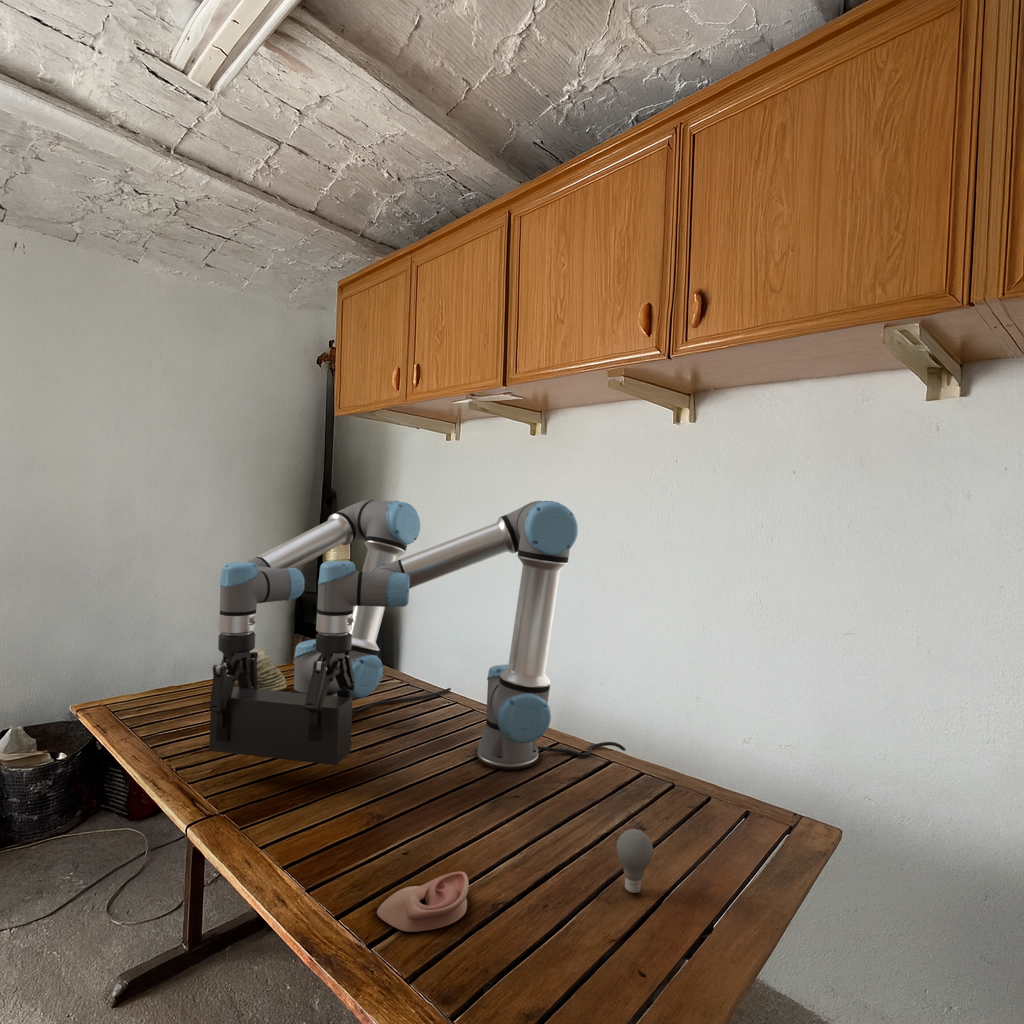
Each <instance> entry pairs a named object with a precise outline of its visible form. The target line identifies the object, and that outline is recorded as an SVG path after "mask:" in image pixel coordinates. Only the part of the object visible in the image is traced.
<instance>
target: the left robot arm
mask: <svg viewBox="0 0 1024 1024" xmlns="http://www.w3.org/2000/svg"><path fill="white" fill-rule="evenodd" d="M420 519H421V518H420V516H419V514H418V511H417V509H416V508H415V507H414V506H413V505H411V504H410V503H408V502H405V501H399V500H375V499H366V500H362V501H359V502H356V503H354V504H351V505H349V506H347V507H345V508H343V509H341V510H338V511H336V512H334V513H332V514H330V515H329V516H328V518H327V520H326V521H324V522H323V523H321V524H319V525H317V526H314V527H313V528H311V529H308V530H307V531H305V532H303V533H301V534H298V535H297V536H295V537H293V538H291V539H289V540H287V541H285V542H283V543H281V544H279V545H277V546H275V547H273V548H272V549H269V550H267V551H266V552H264V553H261V554H260V555H257V556H255V557H254V558H251V559H249V560H247V561H236V562H235V561H233V562H227V563H225V564H223V565H222V567H221V572H220V581H219V614H218V615H219V616H218V617H219V618H218V632H219V634H218V640H217V641H218V643H217V649H218V651H219V652H221V653H222V659H221V662H220V663H219V664H214V665H213V666H212V675H213V677H212V683H211V684H212V685H211V692H210V694H211V695H210V701H209V712H210V713H211V712H216V714H217V717H216V741H221V742H229V741H230V712H231V711H228V708H229V704H230V698H231V696H232V692H233V687H234V683H235V681H236V680H238V685H239V688H252V687H253V688H252V689H258V680H257V657H258V653H257V652H250V651H251V650H253V649H256V633H255V632H254V631H255V630H256V622H257V617H256V616H257V615H256V613H257V607H258V604H264V603H274V602H282V601H286V602H287V601H290V600H295V599H298V598H299V597H300V596H302V594H303V593H304V591H305V582H306V581H305V576H304V574H303V573H302V572H301V570H300V569H299V568H301V567H302V566H304V565H306V564H307V563H309V562H311V561H313V560H315V559H316V558H318V557H321V556H322V555H324V554H326V553H327V552H329V551H331V550H334V549H335V548H337V547H338V546H340V545H341V546H348V545H350V544H351V543H353V542H357V541H364V545H365V547H366V548H367V553H366V556H365V560H364V563H363V567H362V571H361V572H372V571H373V570H374V569H375V568H376V567H378V566H380V565H382V564H389V563H392V562H394V561H397V560H399V558H400V557H402V556H403V555H404V554H406V551H407V548H408V546H409V545H410V544H414V542H415V541H416V540H417V539H418V537H419V535H420V532H421V520H420ZM385 609H386V607H379V606H353V617H352V618H353V619H354V622H353V623H352V630H351V631H350V633H351V634H352V642H351V662H352V668H353V674H354V679H355V683H354V685H355V688H354V690H349V691H350V698H353V699H355V700H356V699H357V700H359V699H365V698H367V697H368V696H369V695H371V694H372V693H373V692H374V691H375V690H376V689H377V688H378V687H379V685H380V683H381V681H382V678H383V675H384V666H383V662H382V660H381V659H380V658H379V654H380V648H379V646H378V644H377V639H378V635H379V631H380V628H381V624H382V620H383V617H384V613H385ZM315 646H316V638H315V639H308V640H304V641H301V642H299V643H298V644H297V645H296V646H295V652H294V656H293V658H294V670H293V671H294V672H293V692H294V693H305V694H307V693H308V689H309V685H310V681H311V677H312V673H313V664H314V661H321V657H322V654H321V653H320V652H318V651H316V649H315ZM227 675H231V676H227ZM349 679H350V678H349ZM338 690H341V689H340V688H339V686H338V683H337V681H336V678H335V677H334V680H333V681H331V682H330V685H329V688H328V691H327V694H326V696H337V691H338ZM449 691H451V687H448V688H445V689H442V690H440V691H436V692H432V693H427V694H422V695H417V696H410V697H403V698H402V697H401V698H396V699H389V700H380V701H374V702H371V703H368V704H366V705H364V706H362V707H359V708H352V713H358V712H362V711H364V710H366V709H368V708H370V707H374V706H378V705H379V706H380V705H385V704H392V703H400V702H406V701H407V702H408V701H415V700H422V699H426V698H431V697H435V696H438V695H443V694H445V693H447V692H449Z"/></svg>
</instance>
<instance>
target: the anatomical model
mask: <svg viewBox="0 0 1024 1024" xmlns="http://www.w3.org/2000/svg"><path fill="white" fill-rule="evenodd" d="M469 884H470V883H469V877H468V875H467V873H466V872H464V871H454V872H449V873H446V874H443V875H440V876H437V877H436V878H434V879H432V880H430V881H428V882H426V883H424V884H421V885H413V886H406V887H403V888H401V889H400V890H399V889H398V890H397V891H395V892H394V893H392V894H391V895H390V896H389V897H388V898H386V899H385V900H384V901H383V902H382V903H381V904H380V905H379V906H378V908H377V910H376V915H377V916H378V917H379V919H381V921H383V922H385V923H386V924H388V925H389V926H391V927H393V928H394V929H396V930H399V931H402V932H405V933H417V932H423V931H431V930H436V929H440V928H443V927H447V926H450V925H452V924H454V923H456V922H457V921H459V920H460V919H462V918H463V917H464V915H465V914H466V912H467V908H468V899H467V896H468V893H469V888H470V887H469V886H470V885H469Z"/></svg>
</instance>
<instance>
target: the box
mask: <svg viewBox="0 0 1024 1024" xmlns="http://www.w3.org/2000/svg"><path fill="white" fill-rule="evenodd" d="M306 697H307V694H305V693H294V691H273V690H263V689H252V688H239V687H233V692H232V696H231V698H230V704H229V708H228V711H231V712H230V741H229V742H221V741H216V717H217V714H216V712H210V713H209V714H210V715H209V716H210V719H209V742H208V743H209V744H208V747H209V748H208V751H209V752H216V753H225V754H233V755H242V756H249V757H250V756H251V757H260V758H267V759H268V758H270V759H278V760H279V759H280V760H287V761H294V762H295V761H296V762H304V763H313V764H322V765H330V766H331V765H332V766H337V765H338V764H339V763H341V762H342V761H343V760H344V759H345V758H346V757H347V756H348V755H349V754H350V753H351V751H352V750H351V747H352V746H351V745H352V727H353V726H352V723H353V712H352V709H353V699H354V698H347V697H337V696H326V697H325V700H324V703H323V706H322V708H321V710H323V730H322V741H321V742H314V741H308V732H309V712H310V711H309V710H304V705H305V701H306Z"/></svg>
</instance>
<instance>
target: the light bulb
mask: <svg viewBox="0 0 1024 1024" xmlns="http://www.w3.org/2000/svg"><path fill="white" fill-rule="evenodd" d="M615 849H616V854H617V857H618V859H619V861H620V863H621V865H622V867H623V873H624V874H623V875H624V876H625V878H624V888H625V890H627V891H628V892H630V893H634V894H635V893H639V892H640V891H641V889H642V887H641V886H642V879H643V877H644V875H645V871H646V868H647V867H648V866H649V864H650V863H651V861H652V859H653V855H654V847H653V843H652V841H651V838H649V836H648V835H647V834H646V833H645V832H643V831H642V830H641V829H636V828H629V829H627V830H625V831H623V832H622V833H621V834H620V835H619V837H618V839H617V841H616V847H615Z"/></svg>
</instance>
